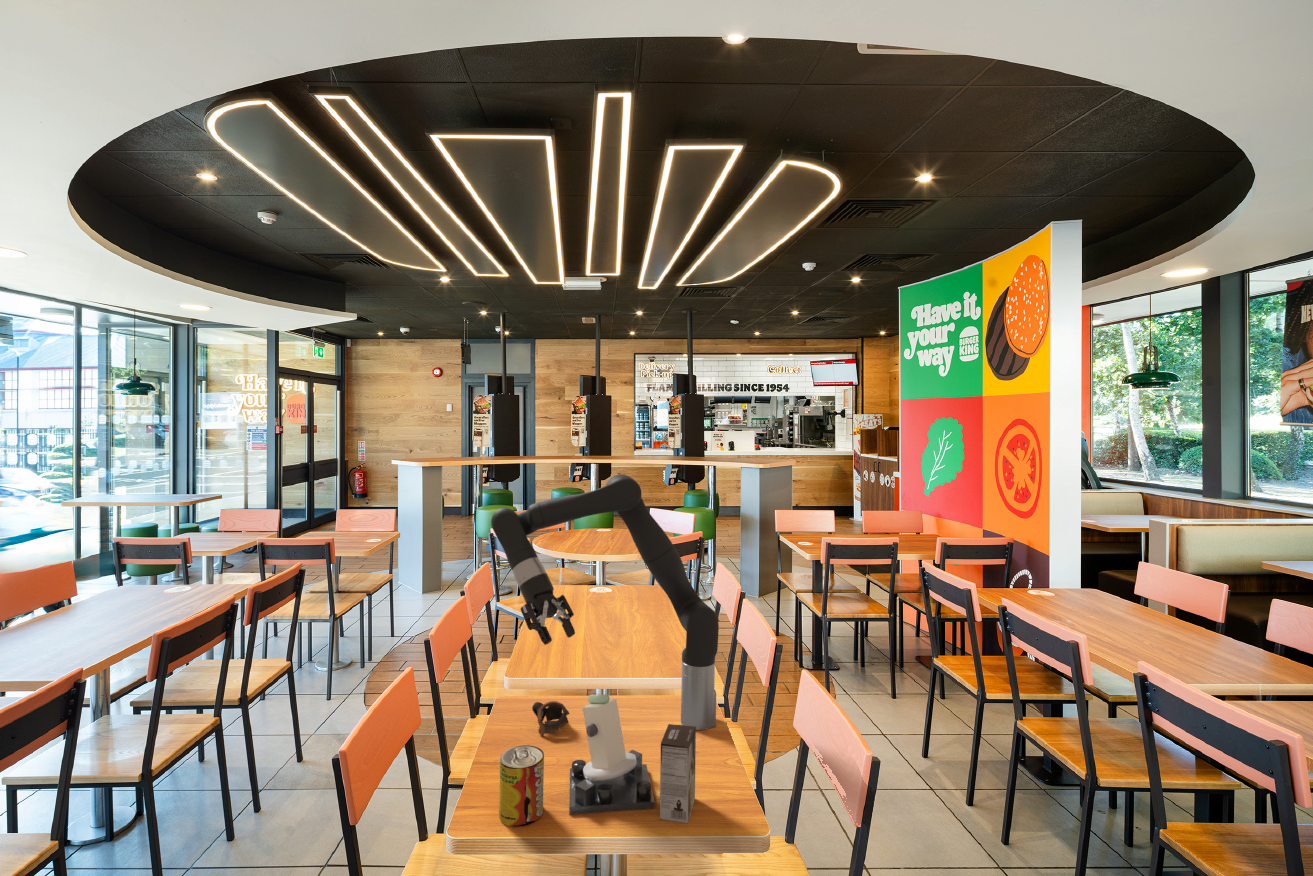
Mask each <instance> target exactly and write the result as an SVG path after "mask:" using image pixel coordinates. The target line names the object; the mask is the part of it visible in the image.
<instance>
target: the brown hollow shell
mask: <svg viewBox="0 0 1313 876" xmlns="http://www.w3.org/2000/svg"><path fill="white" fill-rule="evenodd" d="M531 708H532V712H533V713H534V716H536V718H537V723H538V725H539V727H538V734H539V735H540V736H542V737H543V736H544V735H546V734H551V733H555V732H557V731H559V730H560V729H562V728H564V726H566V724H569V722H570V721H569V720H568V715H570V712H569V710H568V709H567V708H566V706H565V705H564V704H563V703H561V702H559V701H556V700H555V701H554V700H551V701H547V702H545V703H542V702H541V701H536V702H534V703H533V704H532V707H531ZM545 719H546V720H545ZM543 721H544V722H543ZM550 721H552V722H550Z"/></svg>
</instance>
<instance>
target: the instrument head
mask: <svg viewBox="0 0 1313 876" xmlns="http://www.w3.org/2000/svg"><path fill="white" fill-rule="evenodd" d="M587 701H588V702H589V703H588V704H586V705H585V706H582V712H583V719H584V725H585V730H586V736H587V737H586V738H587V743H588V750H589V755H590V761H589V762H586V765H585V766H584V768H583V773H584V777H585V778H586V779H588V780H589V781H590V782H592V783H595V782H597V781H601V780H608V779H612V778H616V777H619V776H621V775H624V774H626V773H628V772H629V771H631V770H632V769H633V768H635V766H636V765H637V761H636V756H635V755H634V754H632V753H628V752H629V751H628V752H627V751H626V748H625V743H624V736H623V730H622V725H621V719H620V713H619V706H618V703H617V702H618V701H617V698H610V695H609V694H600V693H597V694H589V695H588V699H587Z"/></svg>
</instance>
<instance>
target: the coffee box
mask: <svg viewBox="0 0 1313 876" xmlns="http://www.w3.org/2000/svg"><path fill="white" fill-rule="evenodd" d="M696 734H697V730H696V727H695V726H685V725H682V724H672V723H668V724H667V727H666V730H665V732H664V734H663V737H662V739H661V742H660V763H659V764H660V768H659V769H660V771H659V773H660V774H659V775H660V776H659V777H660V779H659V781H660V782H659V787H660V788H659V820H664V821H669V822H670V821H671V822H677V823H684V824H685V823H686V824H689V822H690V819H691V815H692V810H693V808H694V804H695V799H696V755H697V754H696V748H697V747H696V746H697V745H696V743H697V742H696V738H697V735H696Z"/></svg>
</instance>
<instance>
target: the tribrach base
mask: <svg viewBox="0 0 1313 876" xmlns="http://www.w3.org/2000/svg"><path fill="white" fill-rule="evenodd" d="M628 753H632V754H634V755H635V756H636V761H637V765H636V766H635V768H633V769H632V770H631V771H629V772H628V773H626V774H624V775H621V776H619V777H616V778H612V779H608V780H601V781H597V782H595V783H592V782H590V781H589V780H588V779H586V778H585V777H584V773H583V768H584V766H585V765H586V764H587V761H585V760H583V759H576V760H573V761H572V762H571V768H569V798H568V799H569V800H568V801H569V802H568V803H569V807H568V808H569V809H568V813H569V814H568V815H579V814H580V815H581V814H582V815H583V814H594V813H595V814H598V813H611V812H624V811H625V812H627V811H642V810H643V811H644V810H655V799H654V794H653V789H652V782H651V780H650V776H649V771H648V767H647V764H645V763H644V764H643V753H642V752H639V751H636V750H634V749H631V750H629V751H628Z"/></svg>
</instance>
